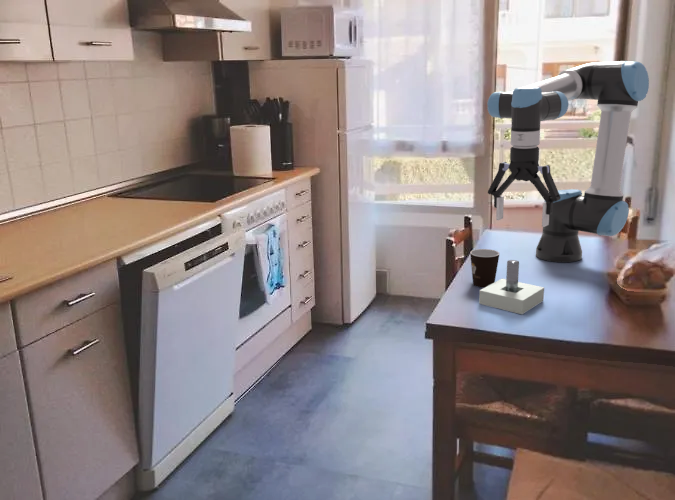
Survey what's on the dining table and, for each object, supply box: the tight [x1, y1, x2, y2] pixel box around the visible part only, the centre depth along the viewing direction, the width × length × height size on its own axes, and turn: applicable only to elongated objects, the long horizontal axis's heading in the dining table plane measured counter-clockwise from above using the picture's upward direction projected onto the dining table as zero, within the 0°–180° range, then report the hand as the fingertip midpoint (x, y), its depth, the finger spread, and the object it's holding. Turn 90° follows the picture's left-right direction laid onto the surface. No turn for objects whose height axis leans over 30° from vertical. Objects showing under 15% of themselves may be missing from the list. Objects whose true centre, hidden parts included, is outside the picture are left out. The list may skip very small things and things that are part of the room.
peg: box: [505, 259, 520, 293], centre depth 176 cm, size 3×3×12 cm
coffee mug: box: [469, 248, 500, 289], centre depth 193 cm, size 12×9×10 cm
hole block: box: [478, 278, 545, 315], centre depth 177 cm, size 13×13×4 cm
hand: (521, 222), depth 176 cm, fingers open, 13 cm apart
